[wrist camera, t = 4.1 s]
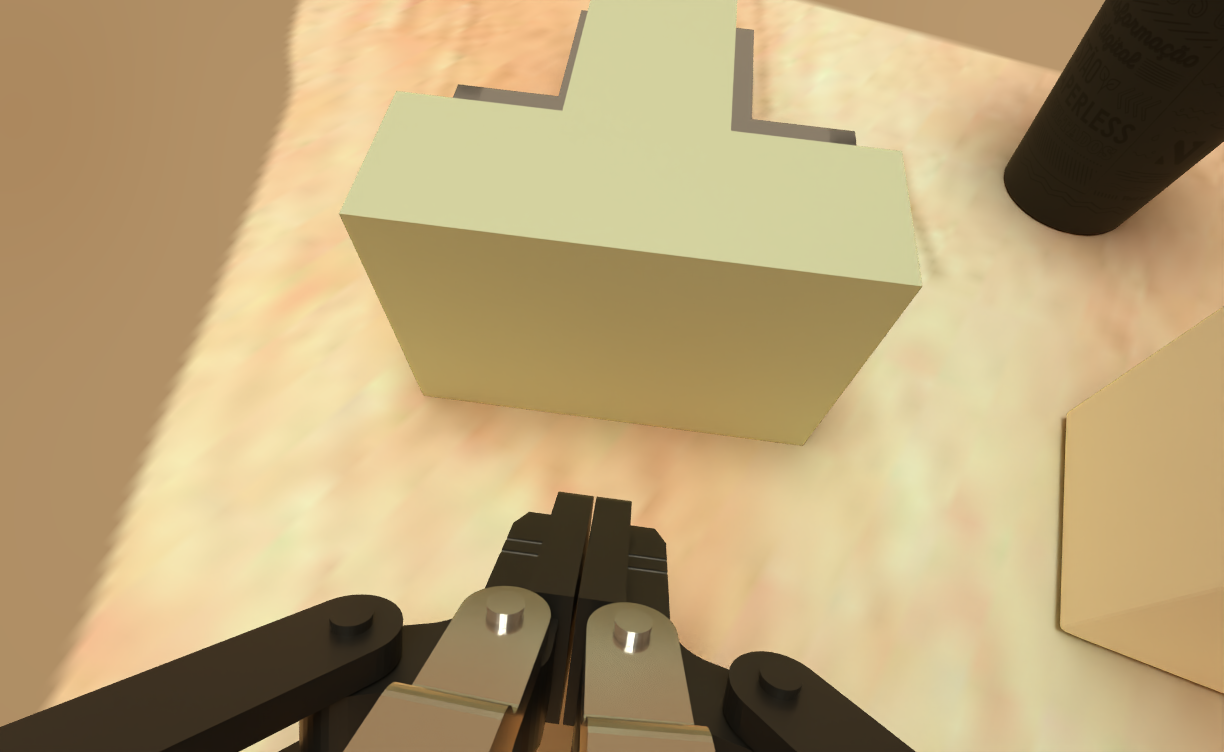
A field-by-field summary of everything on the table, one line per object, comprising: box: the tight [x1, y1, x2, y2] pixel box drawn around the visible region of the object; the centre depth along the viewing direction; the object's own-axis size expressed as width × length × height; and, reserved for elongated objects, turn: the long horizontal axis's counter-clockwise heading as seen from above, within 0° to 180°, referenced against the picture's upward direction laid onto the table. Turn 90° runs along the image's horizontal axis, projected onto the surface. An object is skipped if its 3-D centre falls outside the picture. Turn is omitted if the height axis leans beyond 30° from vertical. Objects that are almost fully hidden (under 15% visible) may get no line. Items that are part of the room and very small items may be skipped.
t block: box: [339, 0, 922, 446], centre depth 19 cm, size 12×10×8 cm
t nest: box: [453, 10, 856, 146], centre depth 25 cm, size 16×13×2 cm
